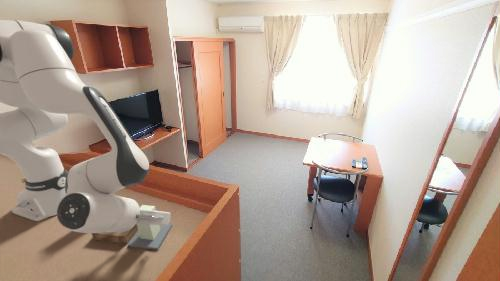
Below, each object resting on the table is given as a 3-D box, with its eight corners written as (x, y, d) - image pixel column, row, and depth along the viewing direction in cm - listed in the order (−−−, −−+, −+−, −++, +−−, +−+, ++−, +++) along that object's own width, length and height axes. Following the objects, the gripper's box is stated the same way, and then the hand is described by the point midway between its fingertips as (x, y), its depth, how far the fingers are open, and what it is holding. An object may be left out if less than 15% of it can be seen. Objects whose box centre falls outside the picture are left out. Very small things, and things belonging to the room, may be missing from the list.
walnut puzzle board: (94, 239, 76) (91, 232, 74) (118, 213, 86) (116, 207, 85) (127, 243, 74) (125, 236, 73) (147, 216, 85) (146, 210, 84)
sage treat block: (140, 238, 75) (133, 214, 71) (148, 228, 79) (142, 204, 75) (153, 239, 74) (147, 216, 70) (160, 229, 78) (155, 206, 74)
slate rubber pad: (128, 246, 73) (128, 244, 73) (145, 223, 82) (145, 221, 82) (158, 249, 72) (157, 248, 71) (172, 225, 81) (172, 224, 80)
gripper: (160, 205, 61) (180, 209, 74) (90, 199, 64) (122, 203, 77) (154, 230, 59) (176, 230, 72) (83, 223, 62) (116, 223, 74)
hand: (148, 216), depth 74 cm, fingers open, 8 cm apart
